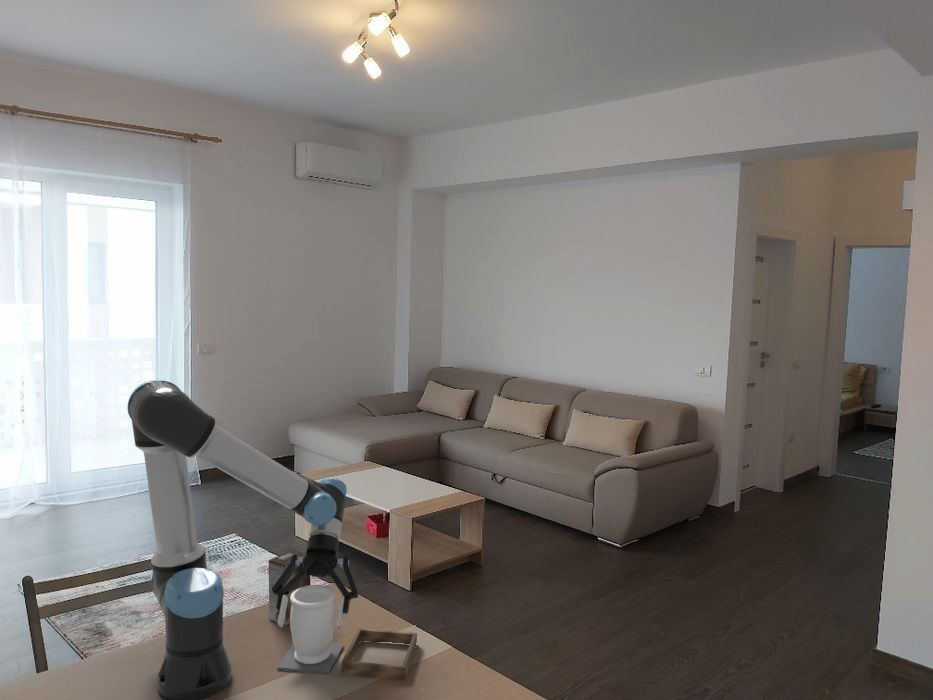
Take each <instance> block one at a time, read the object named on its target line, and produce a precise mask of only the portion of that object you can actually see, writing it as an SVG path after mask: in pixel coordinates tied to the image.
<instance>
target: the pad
mask: <svg viewBox="0 0 933 700" xmlns="http://www.w3.org/2000/svg"><path fill="white" fill-rule="evenodd" d="M329 648H330V651H331V653H330V656H329V657H328V658H327V659H326V660H324V661H323V662H320V663H316V664H303V663H300V662H298V661H297V660H296V659H295V657H294V653H295V651H296V649H295V647H294V645H293V644H292V645H291V646H290V648H289V649H288V651H287V652H286V654H285V655H284V657H283V658H282V660H281V661H280V662H279V664H278V666H277V667H276V669H277V671H284V670H287V671H286V672H294V673H295V672H296V673H310V674H319V675H321V674H322V675H330V674H331V672H332V670H333V668H334V666H335V664H336V662H337V660H338V659H339V656H340V655H341V653H342V651H343V649H344V644H341V643H331V644H330V646H329ZM342 648H343V649H342ZM340 652H341V653H340Z"/></svg>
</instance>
